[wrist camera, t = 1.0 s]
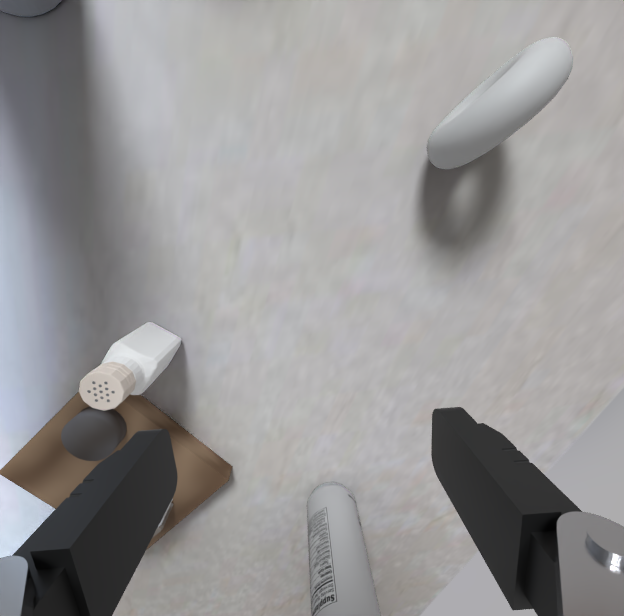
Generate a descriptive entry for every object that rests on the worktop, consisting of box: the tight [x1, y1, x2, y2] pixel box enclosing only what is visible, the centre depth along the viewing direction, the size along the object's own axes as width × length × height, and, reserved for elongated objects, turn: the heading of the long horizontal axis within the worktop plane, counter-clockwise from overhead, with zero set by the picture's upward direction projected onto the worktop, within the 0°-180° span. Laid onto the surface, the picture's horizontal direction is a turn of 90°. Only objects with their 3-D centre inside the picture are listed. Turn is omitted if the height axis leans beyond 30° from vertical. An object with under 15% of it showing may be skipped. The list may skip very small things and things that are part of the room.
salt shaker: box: [79, 322, 181, 411], centre depth 26 cm, size 4×4×10 cm
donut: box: [427, 37, 573, 169], centre depth 22 cm, size 10×4×10 cm, turn 134°
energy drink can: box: [307, 482, 381, 616], centre depth 30 cm, size 6×6×15 cm
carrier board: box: [0, 392, 232, 550], centre depth 32 cm, size 18×16×5 cm
